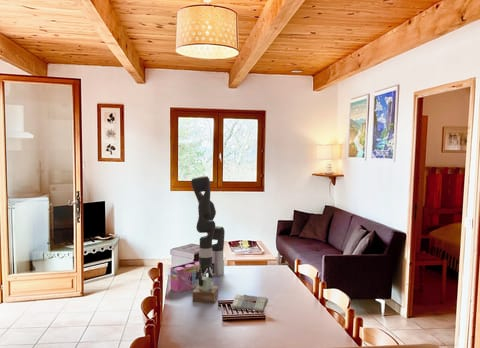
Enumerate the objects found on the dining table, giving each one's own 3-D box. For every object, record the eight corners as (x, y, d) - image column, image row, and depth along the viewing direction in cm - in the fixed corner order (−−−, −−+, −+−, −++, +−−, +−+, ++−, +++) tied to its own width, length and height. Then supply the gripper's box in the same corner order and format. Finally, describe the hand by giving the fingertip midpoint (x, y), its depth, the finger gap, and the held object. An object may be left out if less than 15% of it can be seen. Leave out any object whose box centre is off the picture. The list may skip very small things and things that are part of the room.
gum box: (200, 280, 242) (200, 259, 241) (208, 283, 236) (208, 262, 236) (170, 289, 224) (170, 267, 224) (178, 293, 219) (178, 270, 218)
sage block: (204, 286, 213) (204, 276, 213) (211, 288, 210) (211, 278, 210) (199, 289, 209) (199, 278, 209) (205, 291, 206) (206, 280, 206)
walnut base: (197, 294, 217) (197, 284, 216) (217, 296, 215) (218, 285, 215) (192, 302, 205) (192, 292, 205) (213, 304, 203) (213, 293, 203)
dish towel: (263, 313, 192) (263, 307, 192) (229, 310, 195) (230, 304, 195) (268, 300, 210) (268, 294, 210) (237, 297, 214) (237, 292, 214)
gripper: (207, 251, 217) (207, 279, 218) (192, 257, 205) (192, 286, 205) (218, 253, 213) (218, 281, 214) (203, 259, 201) (203, 288, 202)
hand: (205, 283), depth 210 cm, fingers open, 8 cm apart
